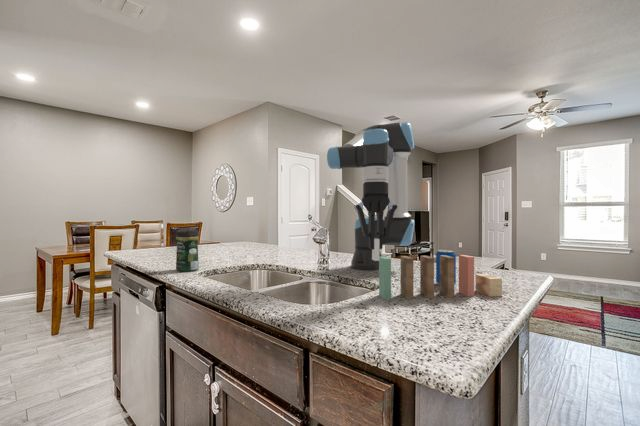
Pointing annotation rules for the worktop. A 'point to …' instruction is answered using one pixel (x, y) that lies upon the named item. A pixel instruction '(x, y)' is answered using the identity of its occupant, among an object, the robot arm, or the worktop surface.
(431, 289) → the tile
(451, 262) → the tile
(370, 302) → the worktop surface
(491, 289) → the oak block
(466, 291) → the red end tile
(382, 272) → the green tile
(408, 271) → the tile
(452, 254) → the blue rectangular box
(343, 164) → the robot arm
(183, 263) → the coffee jar
